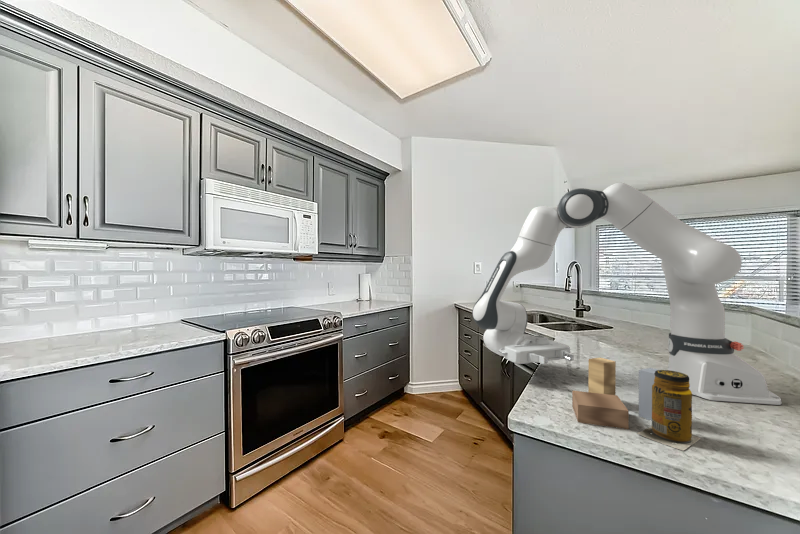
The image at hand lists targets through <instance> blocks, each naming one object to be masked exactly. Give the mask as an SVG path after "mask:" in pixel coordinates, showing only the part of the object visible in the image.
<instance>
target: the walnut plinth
mask: <svg viewBox="0 0 800 534" xmlns="http://www.w3.org/2000/svg"><path fill="white" fill-rule="evenodd" d="M571 393H572V396H571V398H572V404H571V405H572V410H573V412H574V415H575V418H576V421H577V423H579V424H587V425H588V424H589V425H593V424H594V426H603V427H609V428H616V427H617V428H616V429H622V428H624V430H629V429H630V428H629V427H630V426H629V420H630V418H629V417H630V416H629V415H630V414H629V412H630V411H629V410H628V407H627V406H626V405H625V404H624V403H623V401H622V400H621V399H620V397H619V396H618V395H617V394H616V395H609V394H600V393H591V392H588V391H582V390H581V391H580V390H572V391H571Z"/></svg>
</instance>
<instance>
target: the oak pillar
mask: <svg viewBox="0 0 800 534" xmlns="http://www.w3.org/2000/svg"><path fill="white" fill-rule="evenodd" d="M616 364H617V363H616V361H615V360H612V359H607V358H603V357H594V358H588V366H587V367H588V373H587V374H588V377H587V378H588V383H587V384H588V386H587V387H588V388H587V390H588V391H587V392H591V393H600V394H609V395H617V394H616V392H617V391H616V387H617V386H616V381H617V380H616V376H617V375H616V368H617V366H616Z"/></svg>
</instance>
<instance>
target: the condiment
mask: <svg viewBox="0 0 800 534" xmlns="http://www.w3.org/2000/svg"><path fill="white" fill-rule="evenodd" d="M654 375H655V379H654V384H653V385H652V421H651V425H650V426H649V427H647V428H644V429H643V430H640V431H638V432H636V434H637V435H639V436H641V437H644V438H646V439H648V440H652V441H654V442H656V443H659V444H662V445H665V446H668V447H670V448H674V449H677V450H680V451H685V450H687V449H688V448H689V447H691V446H693V445H695V444H696V443H697V442H698V441H699V440H701V437H699V436H695V435H693V433H692V432H693V429H692V428H693V426H692V425H693V394H692V392H691V390H690V389H689V387H690V384H689V380H690V379H689V376H688V375H686V374H684V373H680V372H676V371H671V370H667V369H657V371H655V373H654Z"/></svg>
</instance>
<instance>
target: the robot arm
mask: <svg viewBox="0 0 800 534" xmlns="http://www.w3.org/2000/svg"><path fill="white" fill-rule="evenodd" d="M599 219H600V220H605V221H607V222H608V223H611V225H613V226H614V227H615V228H617V230H619V231H620V232H621V233H623V234H624V235H625V236H626V237H627V238H629V239H630V240H631V241H632V242H634V243H635V244H636V245H637V246H638V247H640V248H641V249H642V250H644V251H646V252H649V254H651V255H653V256H655V257H657V258H658V259H660V260H661V263H660V266H661V270H662V272H663V274H664V278H665V279H664V281H665V285H666V289H667V295H668V298H669V299H668V300H669V305H670V332H669V333H668V339H667V350H668V354H669V359H668V365H667V369H666V370H671V371H676V372H680V373H684V374H686V375H688V376H689V379H690V380H689V384H690V387H689V389H690V390H691V392H692V396H693V395H694V396H697V397H699V398H703V399H706V400H709V401H717V402H731V403H746V404H760V405H761V404H762V405H777V406H780V405H782V399H781V397H780V396H778V395H777V394H776V393H774V392H772V391H770V390H769V389H768V384H767V381H766V378H765V376H764V374H763V373H762V372H761V371H760V370H759V369H757V368H755V367H754V366H752V365H751V364H750V363H748V362H747V361H745V360H744V359H742V358H741V357H740V356H739V355H737V354H736V353H734V352H735V351H737V352H739V351H742V350H744V349H745V347H744V344H742V343H741V342H738V341H732V340H730V339H728V338H726V337H725V336H726V335H725V334H726V333H725V332H726V331H725V329H726V328H725V327H726V326H725V325H726V322H725V320H726V318H725V313H726V312H725V307H724V305H723V303H722V302H721V300H720V298H719V294H718V290H717V288H716V287H717V286H716V285H717V284H720V283H724V282H727V281H728V280H729V281H730V279H733V278H734V277H735V276H736V275H738V273H739V272H740V270H741V267H742V263H743V262H742V257H741V254H740V253H739V252H738V250H737V249H735V247H732V246H731V245H729V244H726V243H724V242H721V241H719V240H717V239H715V238H713V237H711V236H709V235H708V234H706V233H705V232H702V231H701V230H699V229H697V228H695V227H693V226H691V225H689V224H688V223H685V222H684V221H682V220H680V219H679V218H678V217H677V216H674V215H673V214H672V213H671V212H669V211H668V210H666V209H665V207H663V206H661V204H659V203H657V202H656V201H655V200H653V198H651V197H650V196H648V195H647V194H645V193H643V192H642V191H640V190H638V189H637V188H635V187H634V186H632V185H629V184H627V183H625V182H616V183H613V184H611V185H608V186H607V187H606V188H604V189H603V191H602V190H597V189H589V188H574V189H571V190H569V191H568V192H566V193H565V194H563V196H562V197H561V199H560V200H559V202H558V204H557V205H556V206H548V205H539V206H535V207H533V208H532V209H531V210H530V212H529V213H528V214H527V217H526V218H525V220H524V222H523V225H522V226H521V229H520V231H519V234H518V237H517V239H516V242H515V243H514V245H513V246H512V248H511V249H510V250H509V251H507V252H505V253H504V254H503V255H502V256H501V257H500V259H499V260H498V263H497V264H496V266H495V268H494V269H493V272H492V274H491V276H490V278H489V280H488V282H487V284H486V286H485V288H484V290H483V292H482V294H480V297H479V298H477V301H476V302H475V303H474V305H473V308H472V312H471V314H472V318H473V321H474V323H475V324H476V326H478V327H479V329H481V330H485V331H484V333H483V337H482V338H483V344H484V345H485V346H486V348H487V349H488V350H490V351H491V352H493V353H494V354H497V355H499V356H502V357H504V359H506V360H507V361H509V362H512V363H515V364H524V365H525V364H526V365H527V364H531V363H540V364H542V365H545V364H548V363H549V362H550V361H559V360H565V361H568V362H571V361H574V358H575V355H574V354H573V353H571V347H570V346H569V345H567V344H565V343H563V342H559V341H556V340H552V339H549V338H548V337H547V336H543V335H532V334H528V333H525V331H526V329H527V326H528V319H529V318H528V317H529V316H528V313H527V310H526V307H524V306H523V304H522V303H518V302H513V301H508V300H507V301H506V300H501V299H502V297H503V295H504V292H505V291H506V289H507V286H508V285H509V283H510V281H511V280H512V278H514V277H515V276H516V275H518V274H520V273H522V272H523V273H524V272H526V271H532V270H536V269H538V268H541V267H542V266H544V265H546V263H548V261H549V259H550V258H551V256H552V253H553V251H554V248H555V245H556V243H557V240H558V237H559V235H560V234H561V232H562V231H563V230H564V229H581V228H585V227H588V226H590V225H591V224H593V222H595V221H597V220H599Z"/></svg>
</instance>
